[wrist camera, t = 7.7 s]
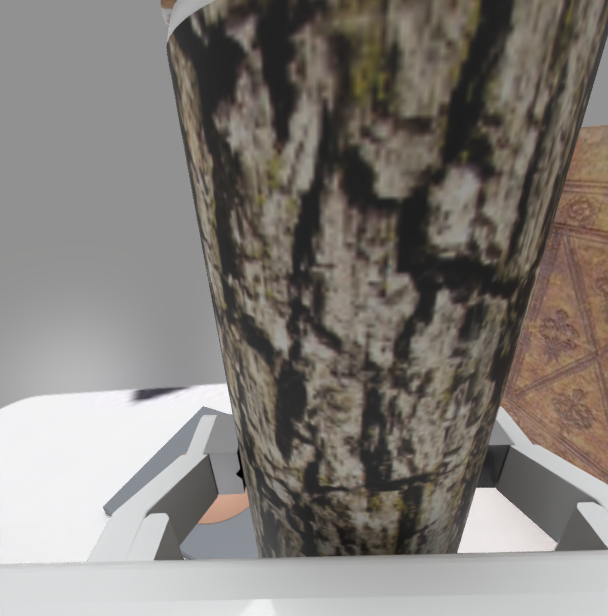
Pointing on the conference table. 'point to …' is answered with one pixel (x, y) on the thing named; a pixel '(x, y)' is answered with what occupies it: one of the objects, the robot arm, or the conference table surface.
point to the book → (569, 323)
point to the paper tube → (374, 241)
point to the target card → (219, 517)
